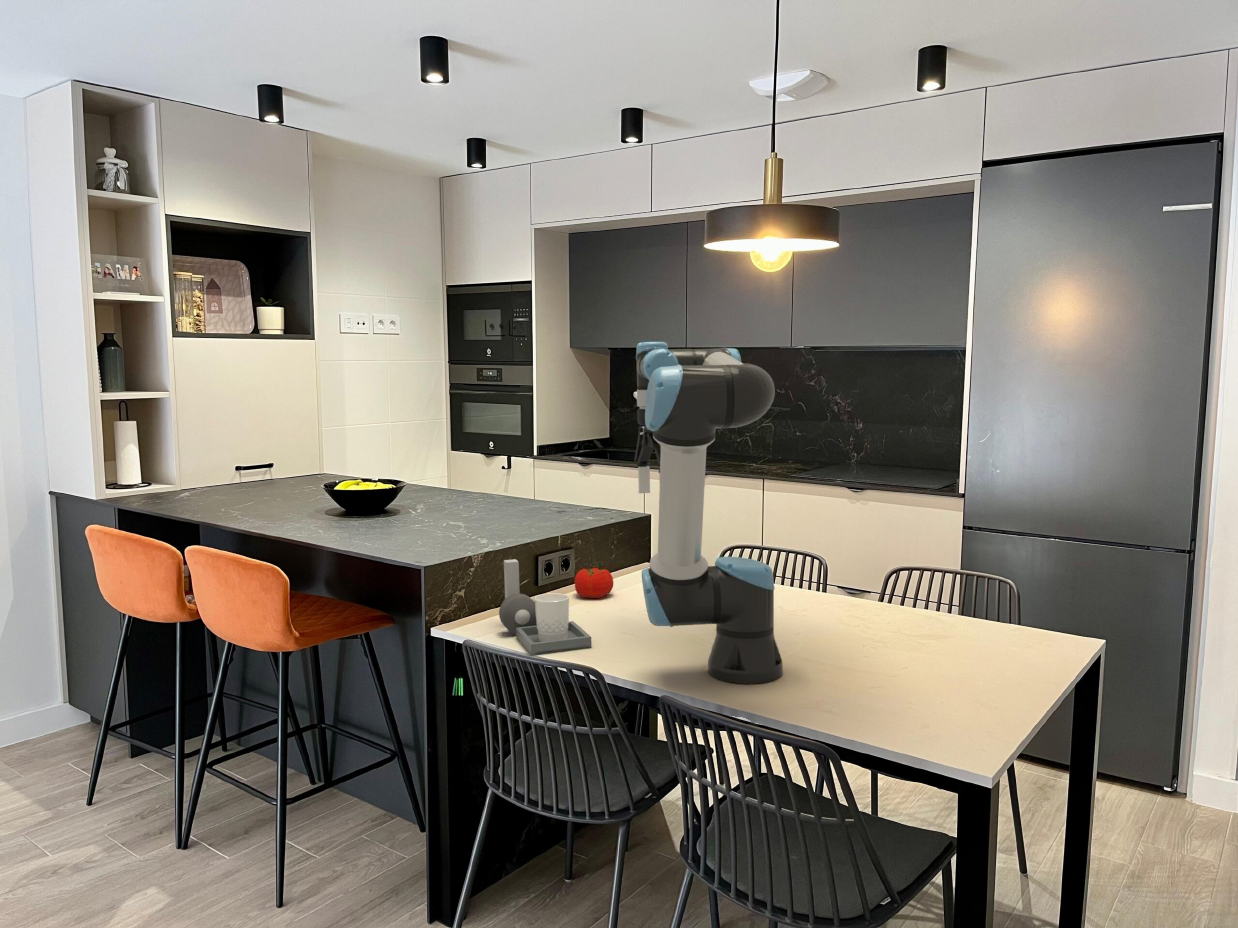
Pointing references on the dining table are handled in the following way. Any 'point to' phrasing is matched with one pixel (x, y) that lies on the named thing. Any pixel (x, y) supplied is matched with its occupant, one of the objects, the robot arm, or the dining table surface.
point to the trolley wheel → (515, 601)
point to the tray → (535, 647)
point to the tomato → (593, 583)
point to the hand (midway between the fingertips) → (654, 496)
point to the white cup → (552, 616)
